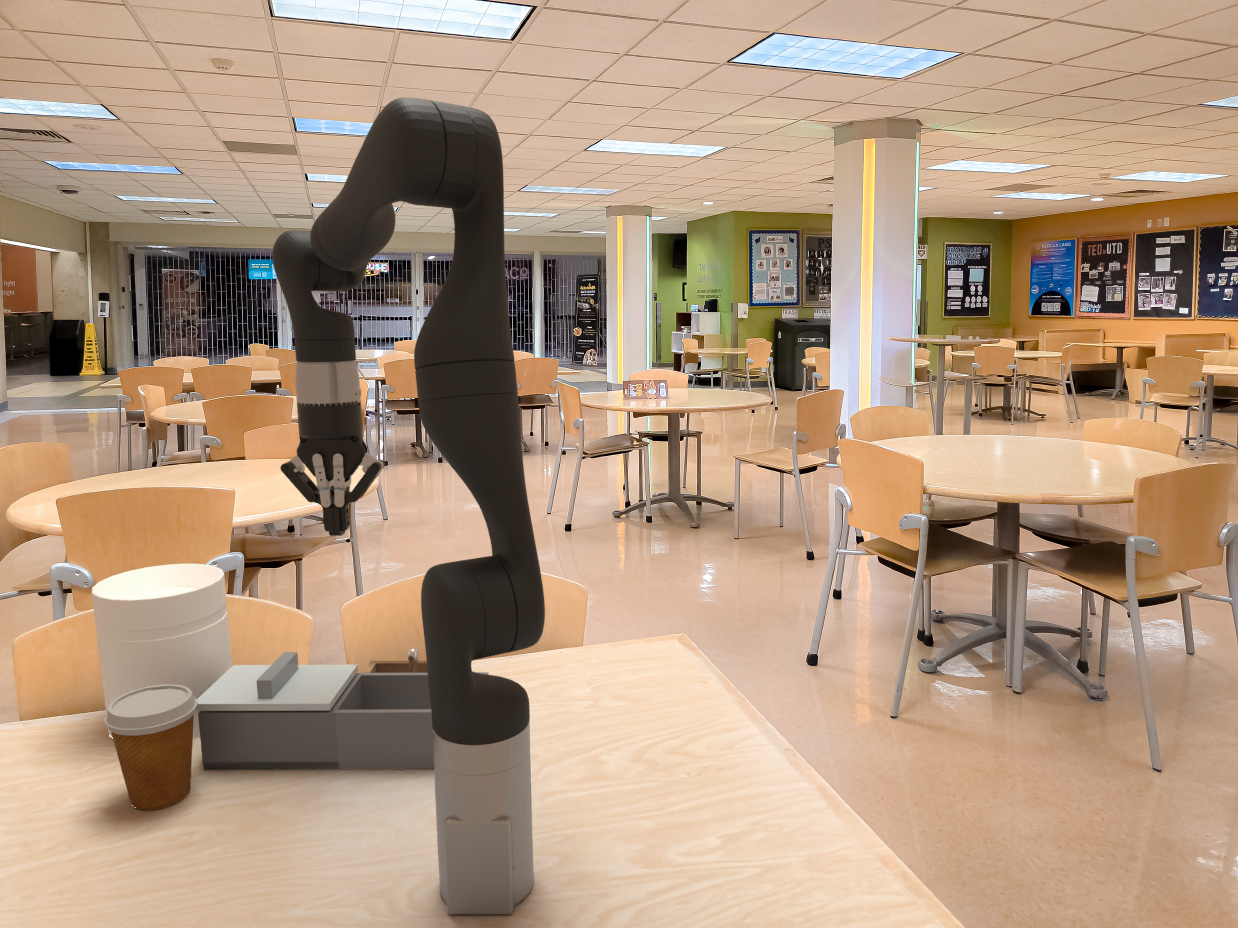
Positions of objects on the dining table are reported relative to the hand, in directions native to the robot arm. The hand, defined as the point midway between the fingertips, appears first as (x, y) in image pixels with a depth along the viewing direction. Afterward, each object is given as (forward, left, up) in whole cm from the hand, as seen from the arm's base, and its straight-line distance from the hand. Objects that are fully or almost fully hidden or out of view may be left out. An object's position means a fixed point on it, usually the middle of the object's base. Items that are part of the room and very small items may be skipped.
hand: (337, 534), depth 112 cm
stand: (+11, -5, -28) cm, 31 cm away
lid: (-2, +8, -20) cm, 22 cm away
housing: (-2, -1, -28) cm, 28 cm away
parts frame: (+11, -5, -28) cm, 31 cm away
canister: (+6, +27, -28) cm, 39 cm away
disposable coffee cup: (-14, +18, -28) cm, 36 cm away
